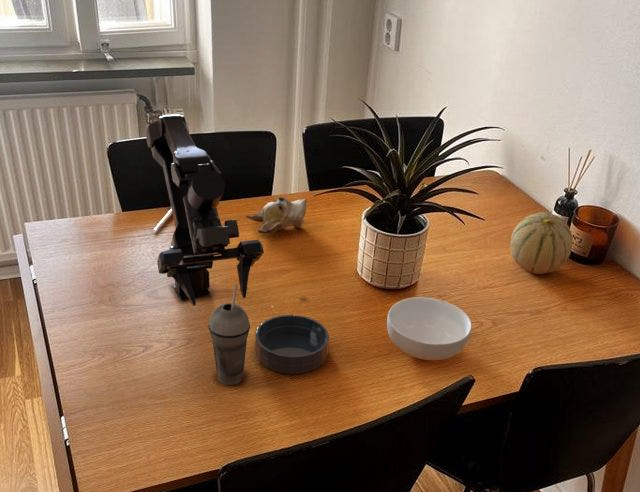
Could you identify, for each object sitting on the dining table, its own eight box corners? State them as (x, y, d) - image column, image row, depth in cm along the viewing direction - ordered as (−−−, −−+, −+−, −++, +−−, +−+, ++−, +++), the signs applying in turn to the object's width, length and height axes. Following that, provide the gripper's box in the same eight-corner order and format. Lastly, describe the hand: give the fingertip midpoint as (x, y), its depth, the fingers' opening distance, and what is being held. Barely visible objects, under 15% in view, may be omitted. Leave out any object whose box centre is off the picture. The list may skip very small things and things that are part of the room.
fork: (148, 232, 175) (147, 225, 174) (177, 200, 191) (177, 193, 190) (160, 234, 174) (160, 227, 173) (189, 202, 191) (188, 195, 190)
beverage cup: (211, 365, 133) (208, 273, 122) (250, 365, 133) (251, 274, 122) (208, 389, 127) (205, 295, 115) (249, 390, 127) (249, 296, 116)
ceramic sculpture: (314, 201, 176) (257, 211, 171) (314, 232, 181) (259, 243, 176) (298, 185, 184) (243, 194, 179) (299, 215, 189) (245, 225, 184)
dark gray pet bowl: (272, 383, 129) (272, 363, 127) (244, 341, 140) (244, 323, 137) (339, 366, 135) (341, 347, 133) (308, 327, 145) (309, 309, 143)
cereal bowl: (444, 384, 133) (450, 354, 129) (368, 352, 140) (372, 322, 136) (479, 343, 145) (485, 314, 142) (408, 315, 152) (412, 287, 148)
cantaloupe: (544, 252, 182) (558, 199, 174) (576, 281, 171) (593, 225, 162) (493, 257, 178) (505, 202, 169) (523, 287, 166) (537, 230, 158)
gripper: (155, 209, 119) (172, 298, 117) (261, 199, 126) (279, 283, 124) (150, 231, 129) (166, 313, 127) (248, 220, 136) (265, 298, 134)
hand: (219, 301), depth 128 cm, fingers open, 9 cm apart
